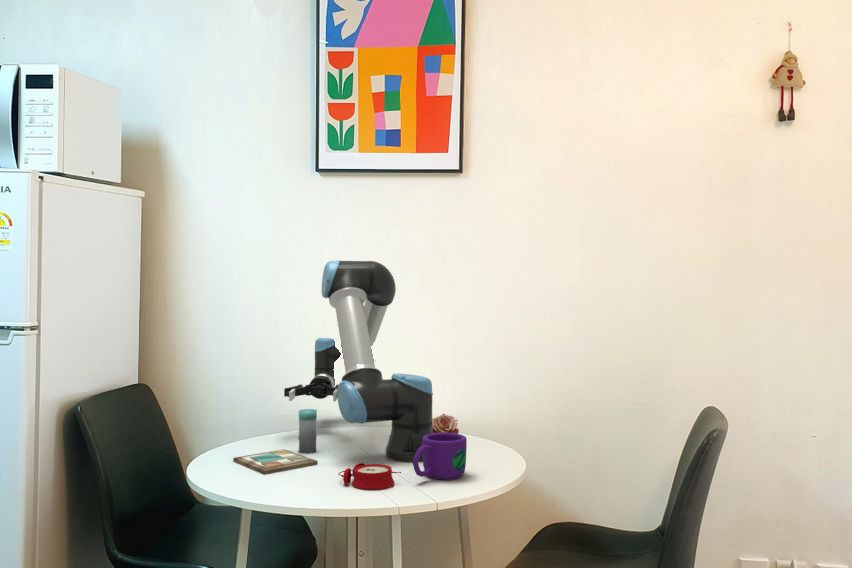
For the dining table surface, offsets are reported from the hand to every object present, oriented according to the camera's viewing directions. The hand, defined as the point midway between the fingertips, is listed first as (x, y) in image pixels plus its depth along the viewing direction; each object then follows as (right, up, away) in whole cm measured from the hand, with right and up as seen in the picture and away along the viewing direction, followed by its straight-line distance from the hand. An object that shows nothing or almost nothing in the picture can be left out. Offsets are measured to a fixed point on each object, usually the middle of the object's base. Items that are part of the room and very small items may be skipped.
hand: (312, 396), depth 218 cm
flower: (+41, -15, +4) cm, 44 cm away
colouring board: (-6, -14, -24) cm, 29 cm away
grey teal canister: (0, -14, -10) cm, 18 cm away
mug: (+38, -15, -39) cm, 56 cm away
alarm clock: (+21, -15, -44) cm, 51 cm away
